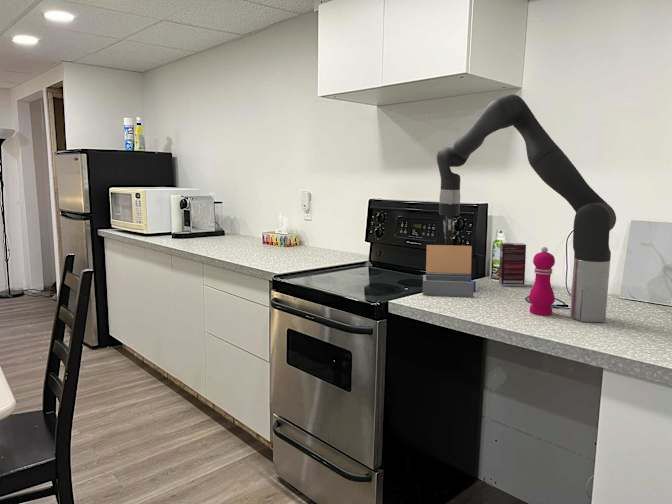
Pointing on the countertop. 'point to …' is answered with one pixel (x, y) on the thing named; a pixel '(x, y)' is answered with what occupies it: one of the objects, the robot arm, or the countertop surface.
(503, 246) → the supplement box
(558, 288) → the countertop surface
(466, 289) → the grey open box
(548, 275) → the pepper mill
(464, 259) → the cover
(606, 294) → the robot arm
